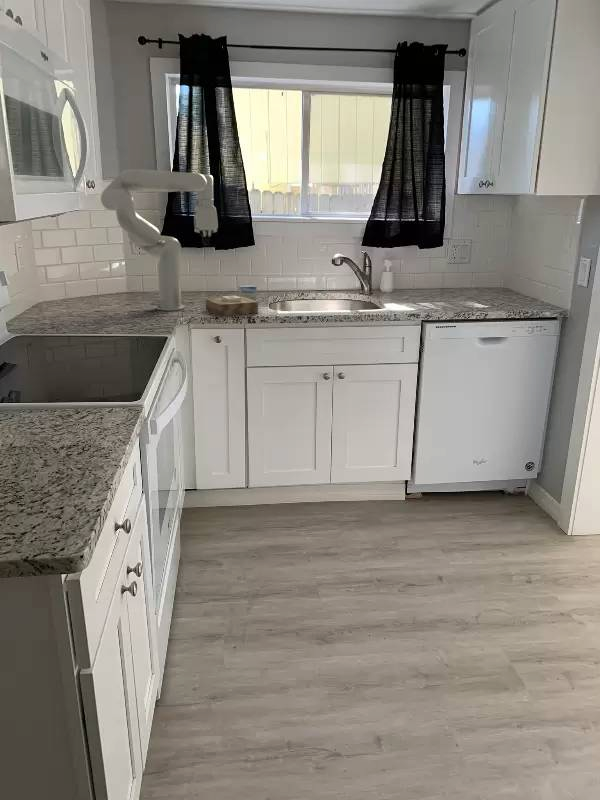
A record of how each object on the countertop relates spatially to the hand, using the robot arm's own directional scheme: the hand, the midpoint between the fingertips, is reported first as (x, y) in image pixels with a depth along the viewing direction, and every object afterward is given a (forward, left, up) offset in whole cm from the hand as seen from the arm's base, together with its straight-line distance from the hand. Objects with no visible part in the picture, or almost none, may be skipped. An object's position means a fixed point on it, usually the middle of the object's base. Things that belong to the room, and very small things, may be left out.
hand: (206, 245), depth 283 cm
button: (+2, -23, -27) cm, 35 cm away
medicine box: (+17, -8, -27) cm, 33 cm away
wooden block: (+2, -23, -27) cm, 36 cm away
